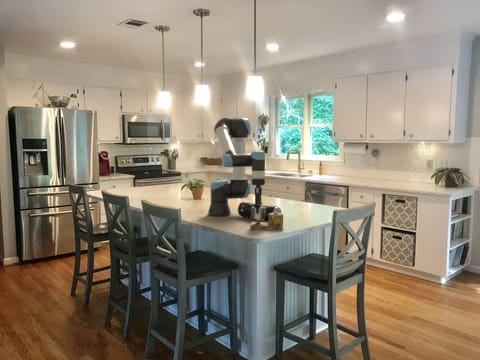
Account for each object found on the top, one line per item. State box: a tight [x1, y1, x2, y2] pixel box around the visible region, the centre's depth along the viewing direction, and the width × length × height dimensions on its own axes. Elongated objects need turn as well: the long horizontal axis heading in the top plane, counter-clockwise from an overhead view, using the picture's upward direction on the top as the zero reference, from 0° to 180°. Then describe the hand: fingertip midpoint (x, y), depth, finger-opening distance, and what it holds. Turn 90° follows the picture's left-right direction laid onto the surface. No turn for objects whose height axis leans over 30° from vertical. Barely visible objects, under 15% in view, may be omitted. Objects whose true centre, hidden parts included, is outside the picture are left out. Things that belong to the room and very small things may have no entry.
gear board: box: [250, 212, 284, 231], centre depth 225 cm, size 18×11×9 cm, turn 83°
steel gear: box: [251, 206, 266, 220], centre depth 225 cm, size 8×8×6 cm
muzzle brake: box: [237, 201, 282, 222], centre depth 246 cm, size 10×28×10 cm, turn 51°
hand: (258, 217), depth 225 cm, fingers closed on steel gear, 8 cm apart
